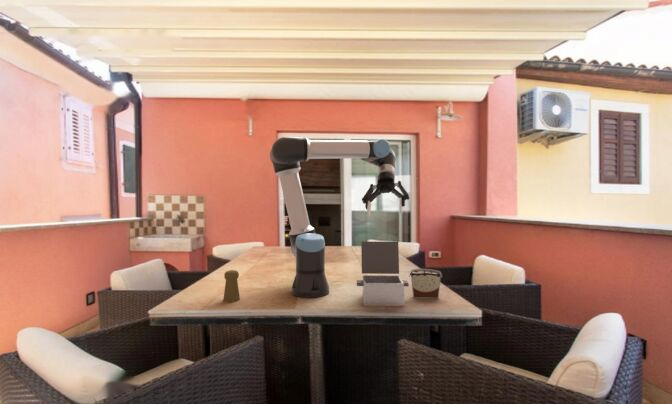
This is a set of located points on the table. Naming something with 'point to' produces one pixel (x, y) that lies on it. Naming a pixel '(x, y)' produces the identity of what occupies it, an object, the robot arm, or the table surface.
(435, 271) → the food container
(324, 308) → the table surface
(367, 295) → the rectangular cooking pot
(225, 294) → the cork
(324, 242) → the robot arm
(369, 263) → the pot lid
